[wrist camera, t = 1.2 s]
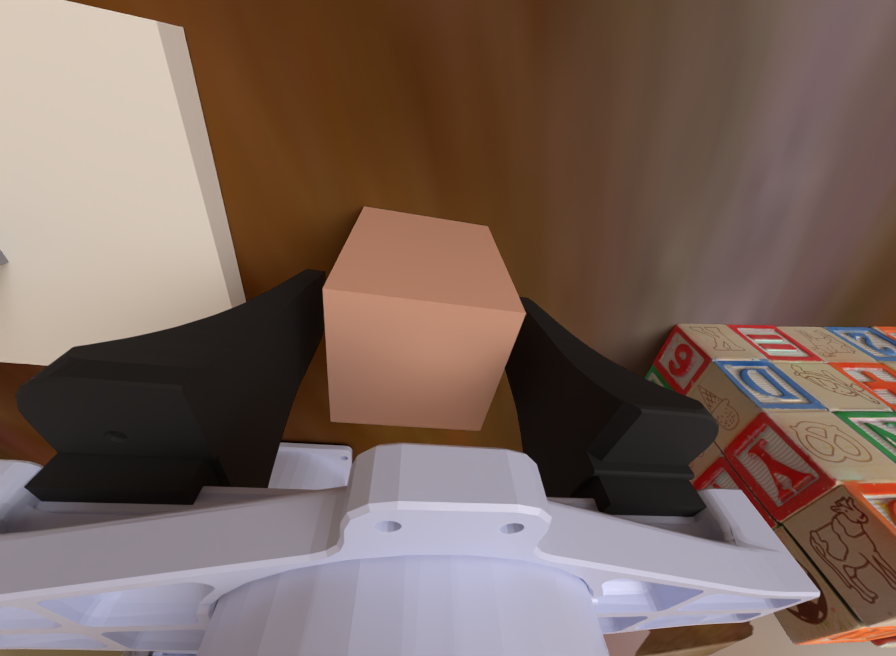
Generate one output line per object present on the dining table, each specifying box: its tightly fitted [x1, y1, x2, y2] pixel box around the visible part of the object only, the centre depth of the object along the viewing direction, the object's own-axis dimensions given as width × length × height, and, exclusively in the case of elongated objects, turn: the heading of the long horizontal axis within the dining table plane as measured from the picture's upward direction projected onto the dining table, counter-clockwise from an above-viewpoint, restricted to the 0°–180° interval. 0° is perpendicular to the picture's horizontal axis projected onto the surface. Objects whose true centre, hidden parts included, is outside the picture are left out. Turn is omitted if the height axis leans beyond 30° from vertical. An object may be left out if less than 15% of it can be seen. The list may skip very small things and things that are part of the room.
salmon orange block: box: [322, 206, 526, 431], centre depth 12 cm, size 5×5×7 cm
